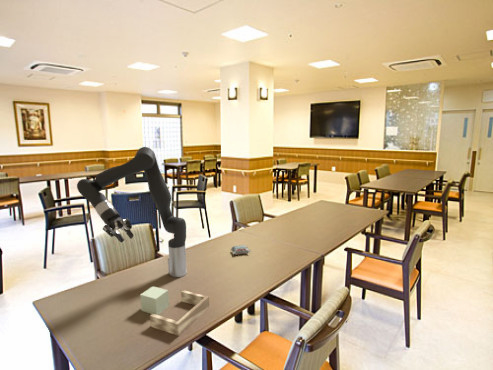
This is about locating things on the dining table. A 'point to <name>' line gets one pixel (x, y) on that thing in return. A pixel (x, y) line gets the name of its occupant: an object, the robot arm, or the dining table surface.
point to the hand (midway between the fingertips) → (127, 239)
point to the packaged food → (240, 249)
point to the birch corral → (187, 319)
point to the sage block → (154, 300)
